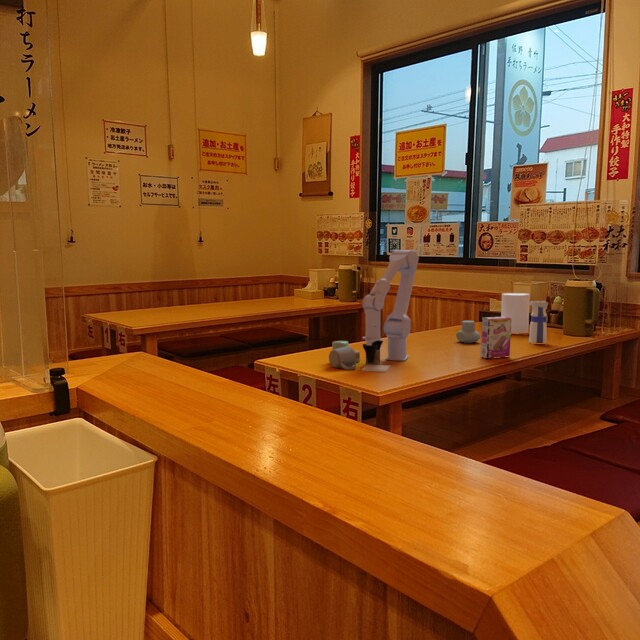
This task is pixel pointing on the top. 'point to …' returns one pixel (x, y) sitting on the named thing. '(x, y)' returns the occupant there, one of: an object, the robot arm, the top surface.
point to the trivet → (376, 368)
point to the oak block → (357, 356)
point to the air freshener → (468, 332)
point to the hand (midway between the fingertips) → (372, 360)
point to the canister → (516, 311)
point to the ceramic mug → (343, 358)
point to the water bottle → (538, 322)
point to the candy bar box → (495, 337)
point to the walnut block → (377, 358)
